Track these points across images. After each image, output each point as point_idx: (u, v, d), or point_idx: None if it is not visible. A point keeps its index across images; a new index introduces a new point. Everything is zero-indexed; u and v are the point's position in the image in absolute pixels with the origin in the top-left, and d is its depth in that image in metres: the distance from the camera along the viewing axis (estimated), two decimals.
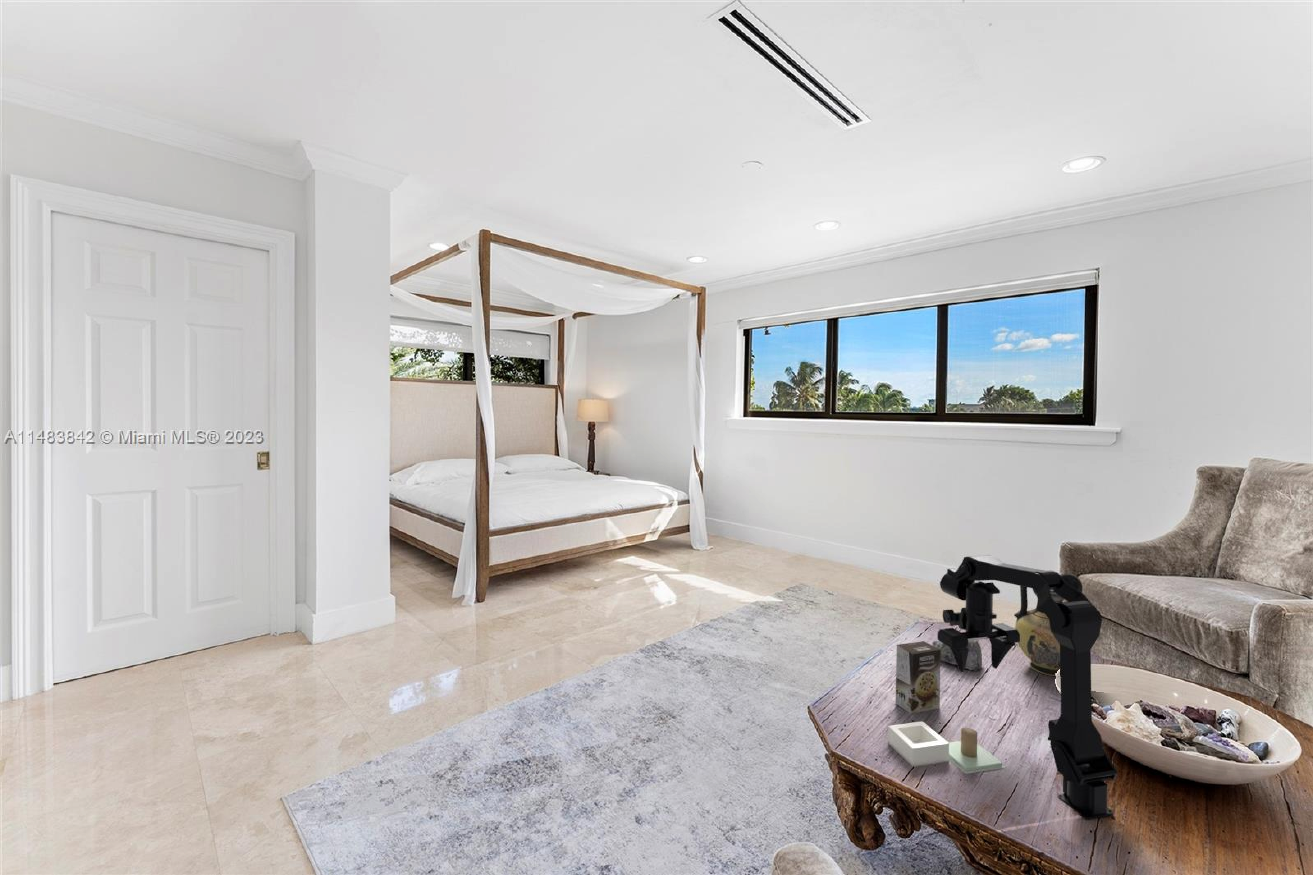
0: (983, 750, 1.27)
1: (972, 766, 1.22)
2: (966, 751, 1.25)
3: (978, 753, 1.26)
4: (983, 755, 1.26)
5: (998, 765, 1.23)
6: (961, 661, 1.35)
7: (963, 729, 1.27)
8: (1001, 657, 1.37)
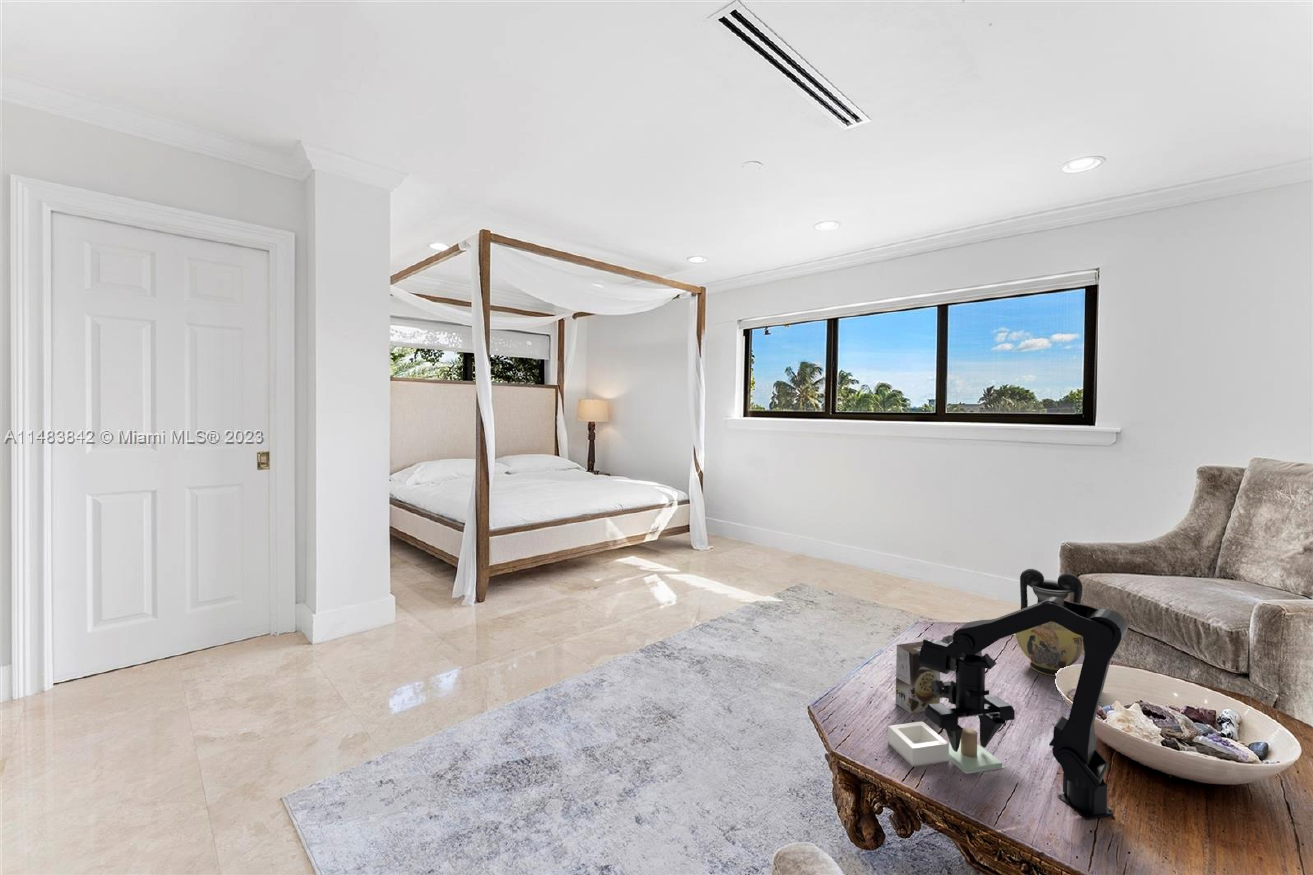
0: (983, 750, 1.27)
1: (972, 766, 1.22)
2: (966, 751, 1.25)
3: (978, 753, 1.26)
4: (983, 755, 1.26)
5: (998, 765, 1.23)
6: (954, 740, 1.24)
7: (963, 729, 1.27)
8: (991, 736, 1.25)
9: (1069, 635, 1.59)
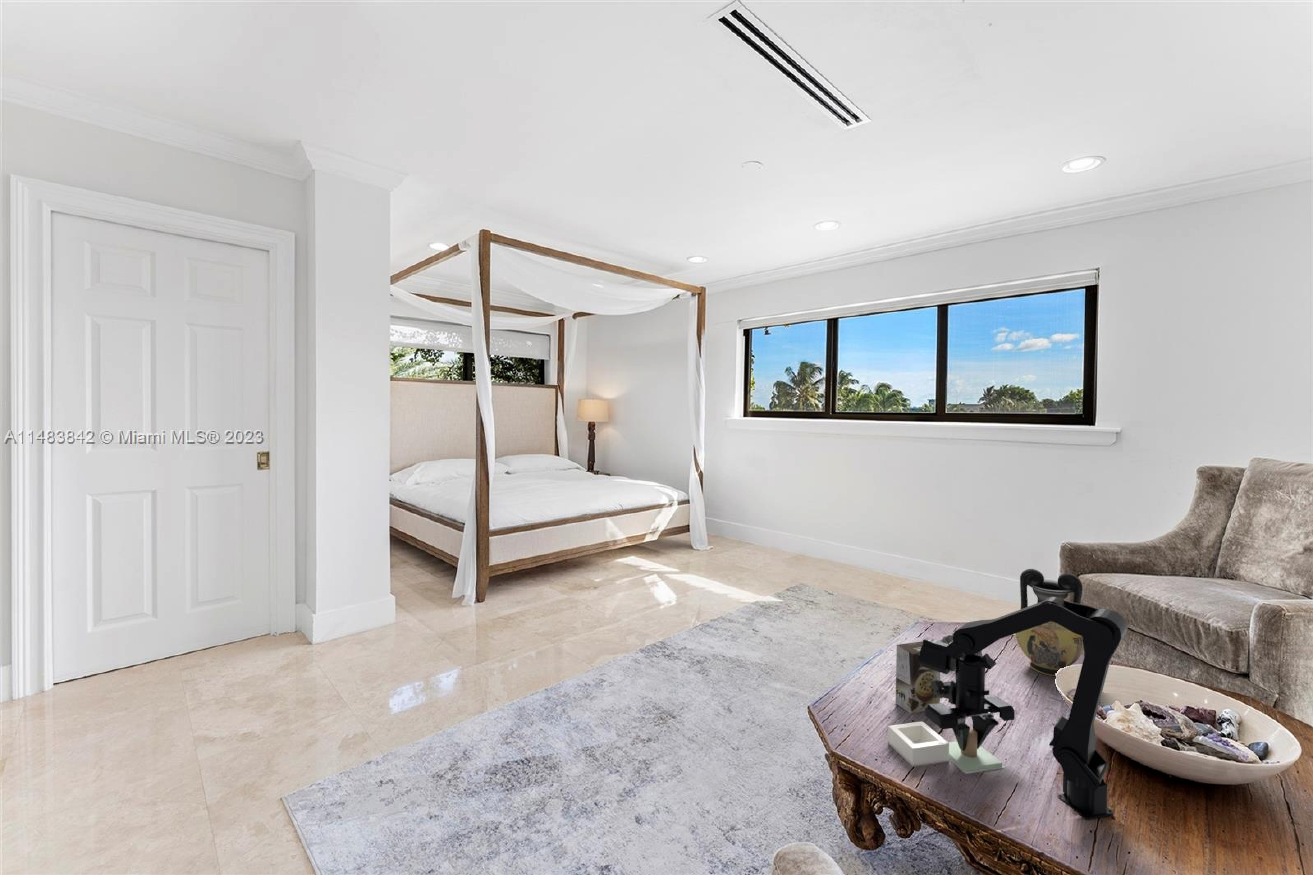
0: (983, 750, 1.27)
1: (972, 766, 1.22)
2: (966, 751, 1.25)
3: (978, 753, 1.26)
4: (983, 755, 1.26)
5: (998, 765, 1.23)
6: (962, 739, 1.24)
7: None
8: (983, 737, 1.25)
9: (1069, 635, 1.59)
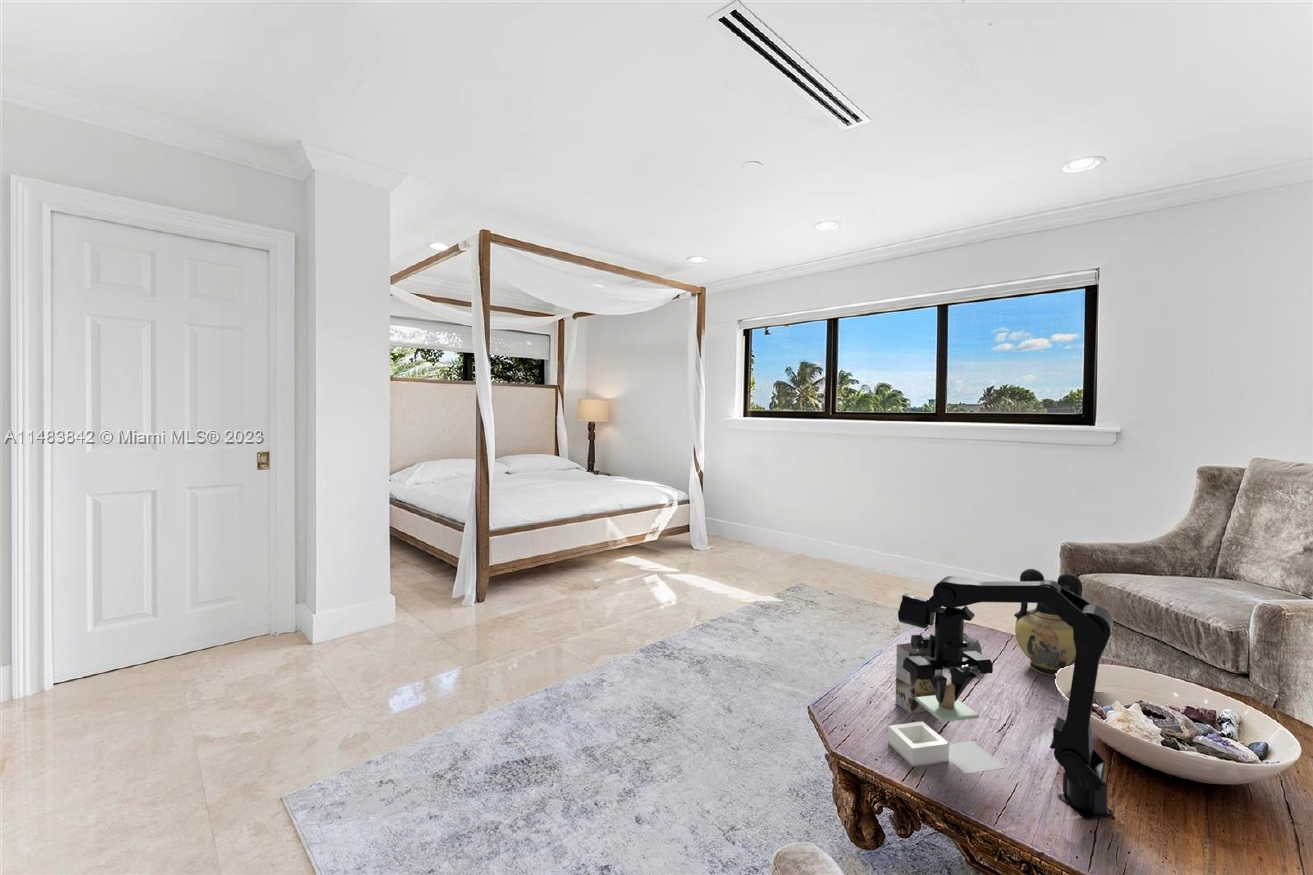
0: (961, 703, 1.28)
1: (948, 717, 1.23)
2: (943, 703, 1.26)
3: (955, 706, 1.27)
4: (960, 707, 1.26)
5: (974, 717, 1.23)
6: (939, 691, 1.25)
7: None
8: (961, 690, 1.26)
9: (1069, 635, 1.59)
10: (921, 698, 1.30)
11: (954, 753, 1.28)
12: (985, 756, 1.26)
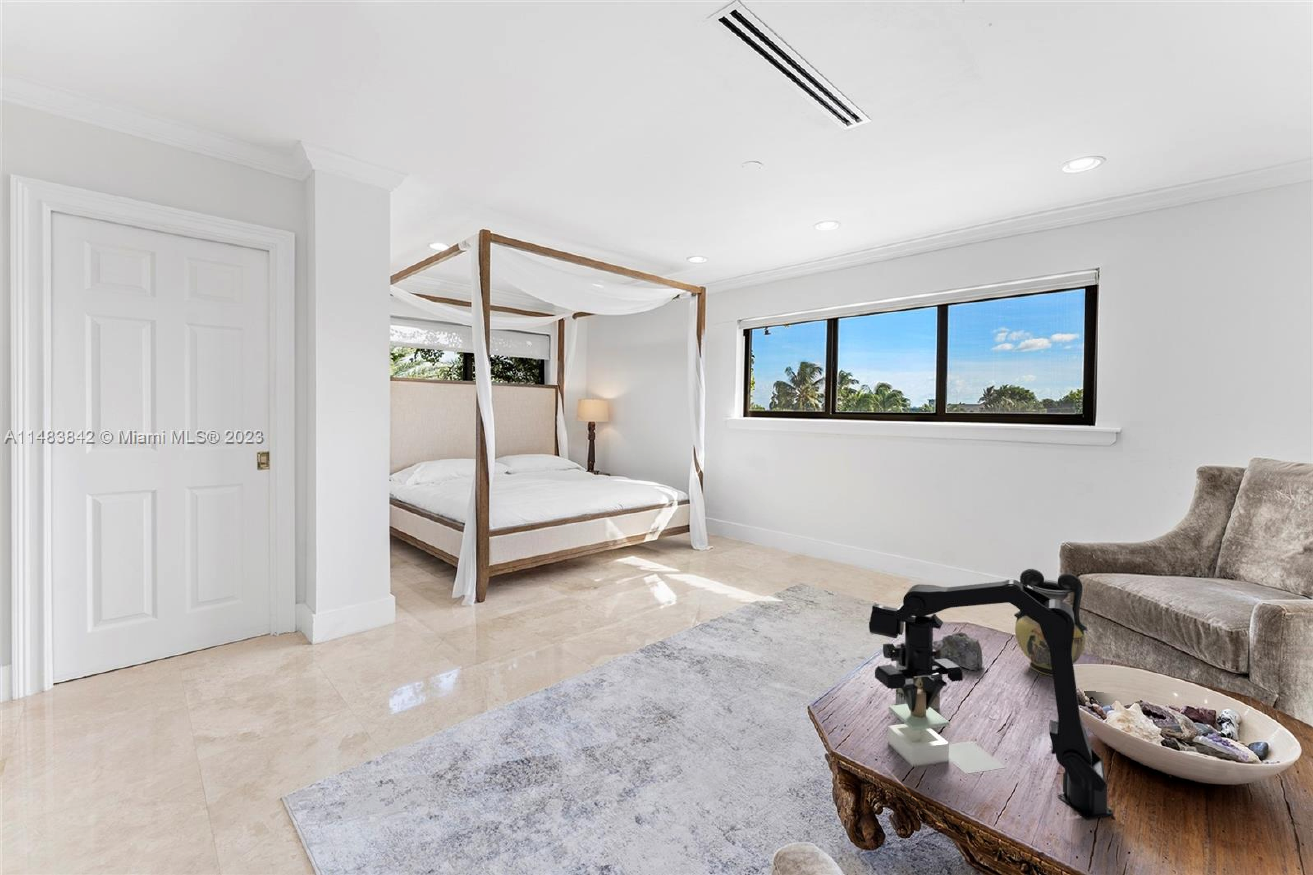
0: (933, 711, 1.29)
1: (919, 725, 1.23)
2: (915, 711, 1.27)
3: (927, 714, 1.28)
4: (932, 715, 1.27)
5: (945, 724, 1.24)
6: (910, 700, 1.26)
7: None
8: (932, 698, 1.27)
9: None
10: (894, 707, 1.31)
11: (954, 753, 1.28)
12: (985, 756, 1.26)
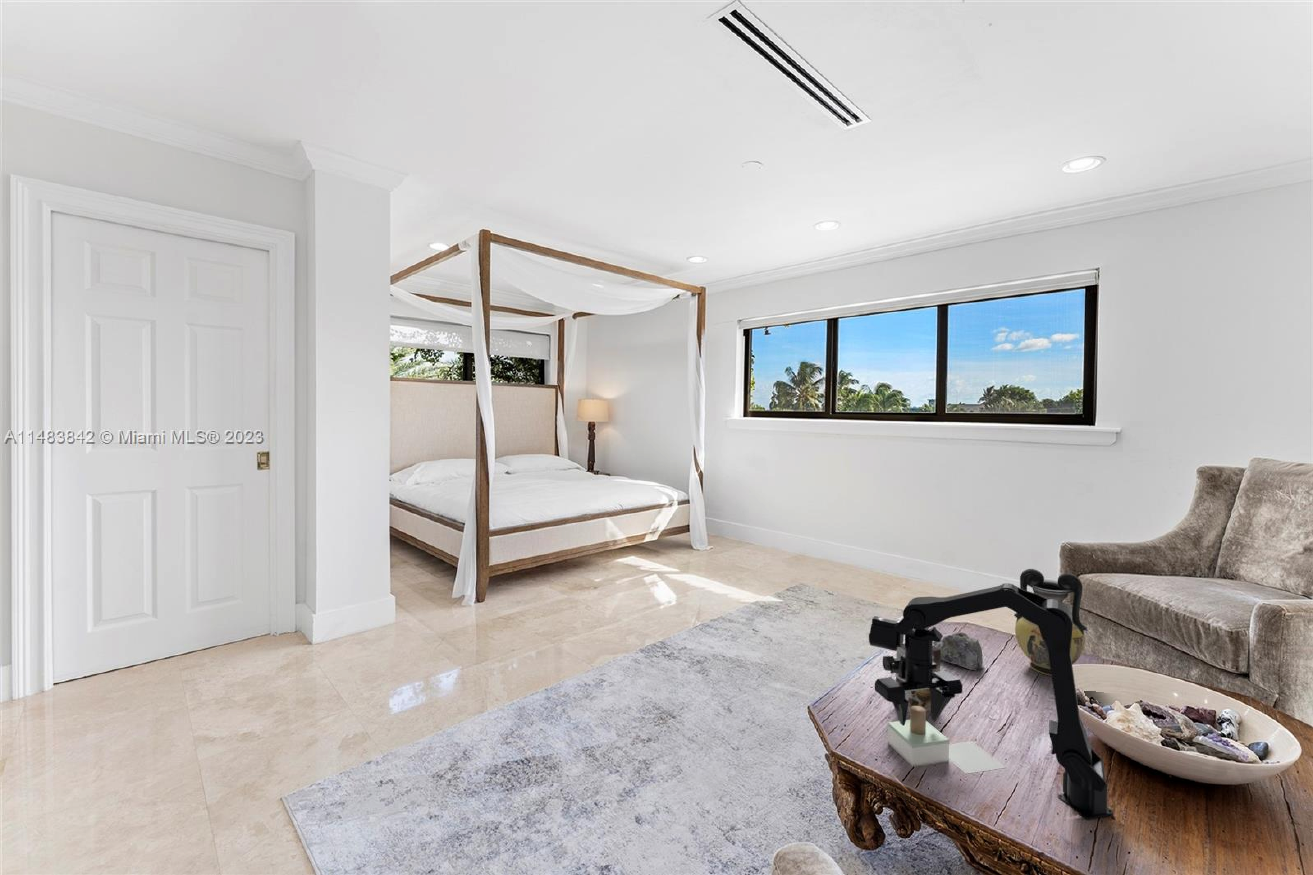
0: (932, 728, 1.29)
1: (919, 743, 1.24)
2: (915, 728, 1.27)
3: (927, 731, 1.28)
4: (931, 732, 1.27)
5: (945, 742, 1.25)
6: (901, 714, 1.26)
7: (912, 707, 1.29)
8: (940, 710, 1.27)
9: None
10: (893, 723, 1.31)
11: (954, 753, 1.28)
12: (985, 756, 1.26)
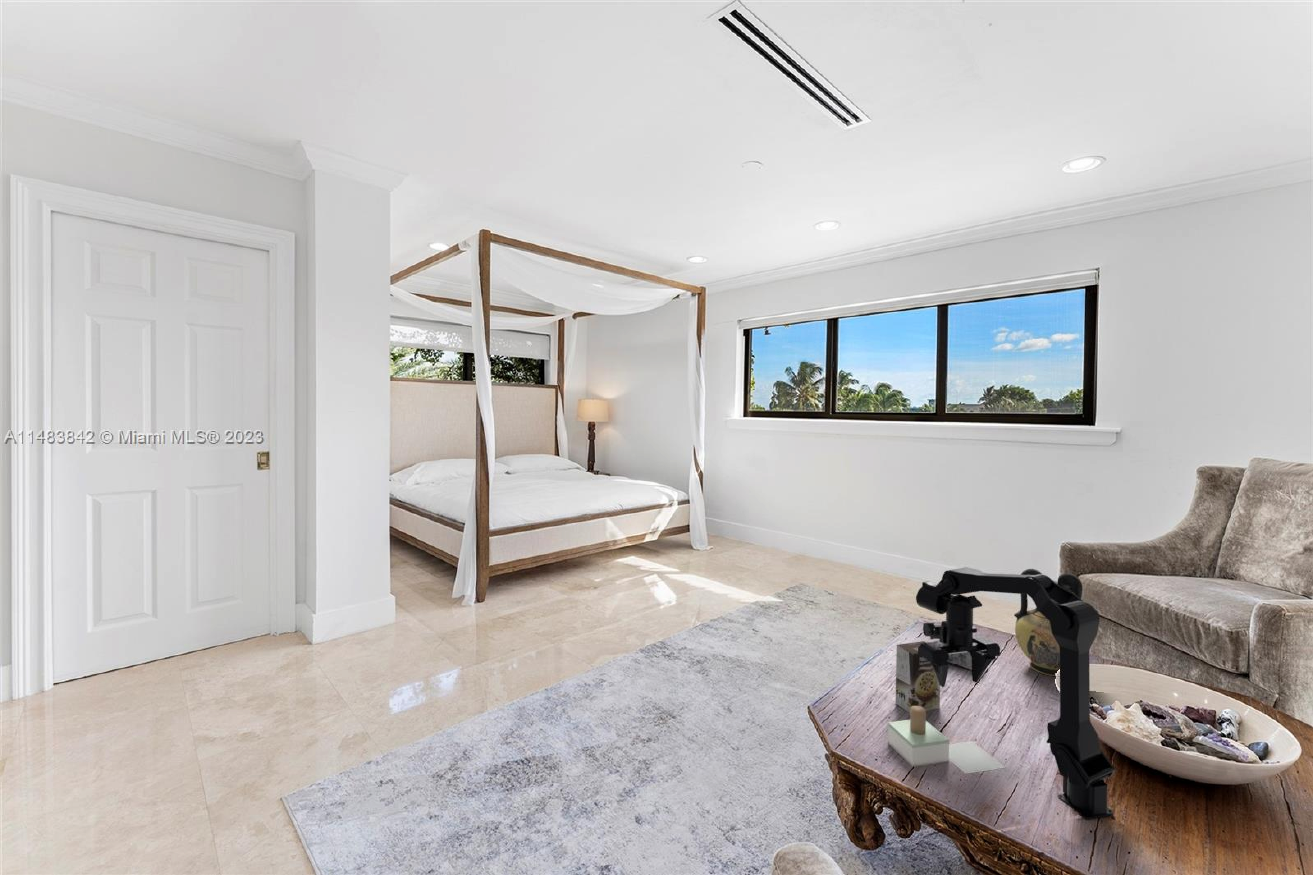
0: (932, 728, 1.29)
1: (919, 743, 1.24)
2: (915, 728, 1.27)
3: (927, 731, 1.28)
4: (931, 732, 1.27)
5: (945, 742, 1.25)
6: (941, 676, 1.33)
7: (912, 707, 1.29)
8: (982, 671, 1.35)
9: None
10: (893, 723, 1.31)
11: (954, 753, 1.28)
12: (985, 756, 1.26)
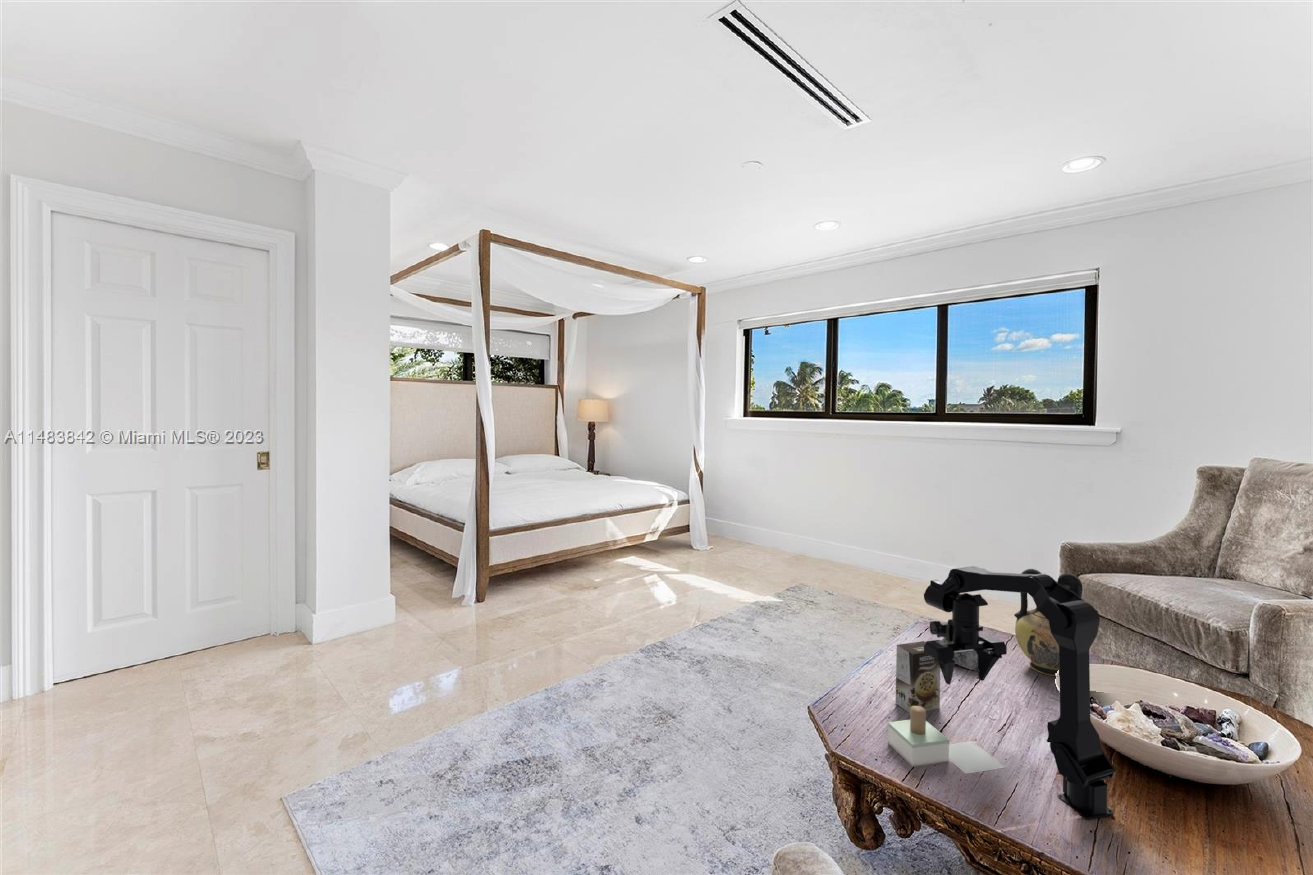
0: (932, 728, 1.29)
1: (919, 743, 1.24)
2: (915, 728, 1.27)
3: (927, 731, 1.28)
4: (931, 732, 1.27)
5: (945, 742, 1.25)
6: (947, 673, 1.34)
7: (912, 707, 1.29)
8: (988, 669, 1.36)
9: None
10: (893, 723, 1.31)
11: (954, 753, 1.28)
12: (985, 756, 1.26)
